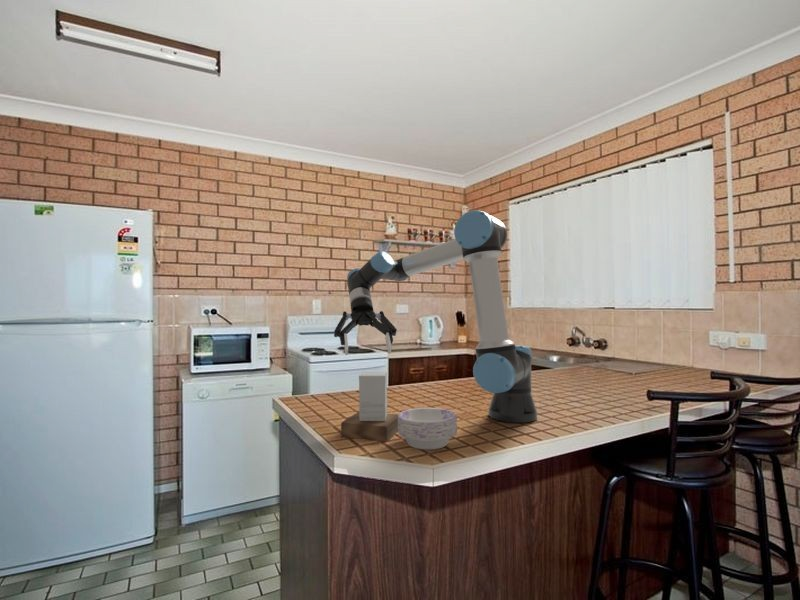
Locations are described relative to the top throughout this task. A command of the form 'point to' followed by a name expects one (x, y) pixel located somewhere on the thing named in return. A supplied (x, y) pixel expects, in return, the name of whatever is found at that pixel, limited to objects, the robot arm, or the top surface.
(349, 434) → the block
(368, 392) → the supplement box
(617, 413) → the top surface
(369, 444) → the top surface
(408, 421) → the paper bowls
